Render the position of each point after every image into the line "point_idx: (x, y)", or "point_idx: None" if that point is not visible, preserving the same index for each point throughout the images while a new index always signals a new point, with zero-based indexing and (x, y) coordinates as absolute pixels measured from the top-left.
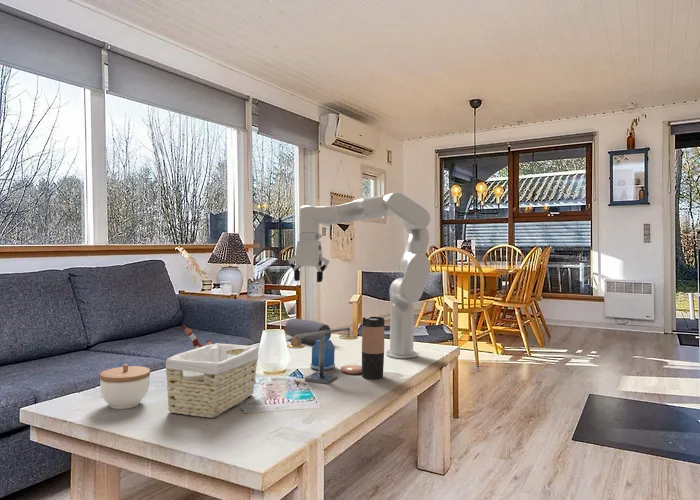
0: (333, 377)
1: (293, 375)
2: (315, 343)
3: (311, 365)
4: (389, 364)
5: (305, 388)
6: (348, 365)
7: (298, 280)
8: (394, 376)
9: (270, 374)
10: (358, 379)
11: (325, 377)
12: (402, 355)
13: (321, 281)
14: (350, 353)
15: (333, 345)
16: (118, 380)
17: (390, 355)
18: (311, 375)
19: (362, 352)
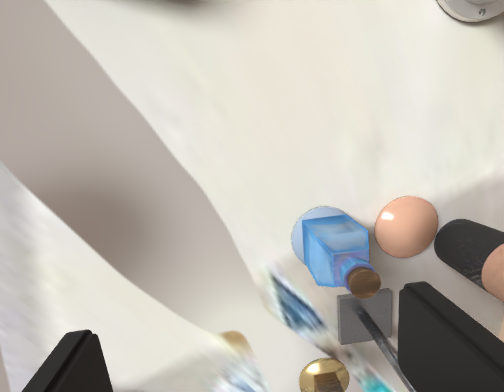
0: (390, 307)
1: (296, 323)
2: (331, 286)
3: (304, 263)
4: (467, 107)
5: (363, 374)
6: (387, 213)
7: (105, 363)
8: (500, 211)
9: (247, 343)
10: (434, 274)
11: (378, 321)
12: (497, 6)
13: (420, 288)
14: (315, 31)
15: (367, 236)
16: None
17: (456, 15)
18: (345, 325)
19: (485, 289)
